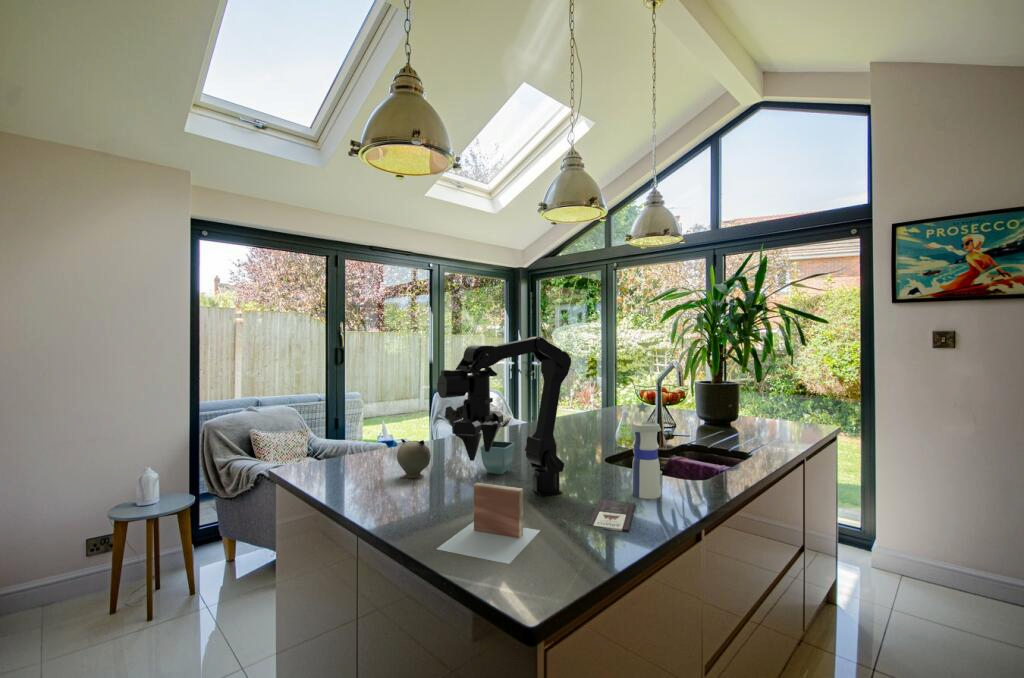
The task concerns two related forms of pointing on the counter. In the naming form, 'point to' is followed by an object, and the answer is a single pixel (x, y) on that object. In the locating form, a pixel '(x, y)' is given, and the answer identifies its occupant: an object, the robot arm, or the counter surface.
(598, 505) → the chocolate bar
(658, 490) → the water bottle
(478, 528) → the birch tile
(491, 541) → the light gray mat
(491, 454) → the flower pot
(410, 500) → the counter surface
